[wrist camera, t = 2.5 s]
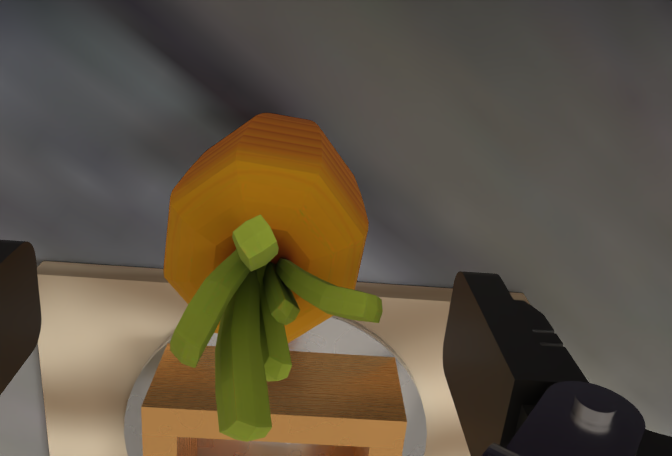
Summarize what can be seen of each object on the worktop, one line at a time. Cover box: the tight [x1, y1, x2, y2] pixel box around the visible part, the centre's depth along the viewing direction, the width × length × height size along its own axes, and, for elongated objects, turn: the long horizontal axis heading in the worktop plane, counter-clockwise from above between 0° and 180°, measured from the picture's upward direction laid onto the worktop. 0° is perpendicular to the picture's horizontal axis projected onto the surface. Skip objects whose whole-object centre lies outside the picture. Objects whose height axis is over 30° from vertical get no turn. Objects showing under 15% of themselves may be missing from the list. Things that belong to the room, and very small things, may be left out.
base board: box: [37, 261, 530, 456], centre depth 28 cm, size 14×20×1 cm
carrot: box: [163, 113, 383, 442], centre depth 17 cm, size 5×5×15 cm
